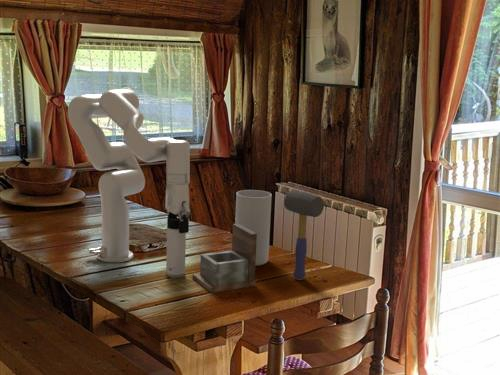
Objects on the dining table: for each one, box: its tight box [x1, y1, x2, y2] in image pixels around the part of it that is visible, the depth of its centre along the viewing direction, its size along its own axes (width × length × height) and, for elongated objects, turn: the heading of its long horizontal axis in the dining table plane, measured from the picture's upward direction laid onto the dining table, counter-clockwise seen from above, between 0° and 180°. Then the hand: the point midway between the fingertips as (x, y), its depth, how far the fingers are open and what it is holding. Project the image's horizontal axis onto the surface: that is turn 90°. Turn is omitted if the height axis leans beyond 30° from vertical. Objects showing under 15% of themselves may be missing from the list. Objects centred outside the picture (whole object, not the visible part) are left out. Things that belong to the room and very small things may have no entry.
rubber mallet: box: [283, 190, 325, 281], centre depth 218 cm, size 12×8×30 cm, turn 46°
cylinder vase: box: [234, 189, 273, 267], centre depth 235 cm, size 12×12×25 cm
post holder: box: [192, 223, 257, 294], centre depth 213 cm, size 16×14×18 cm
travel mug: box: [165, 217, 187, 279], centre depth 218 cm, size 6×7×20 cm
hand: (178, 229), depth 216 cm, fingers open, 9 cm apart
